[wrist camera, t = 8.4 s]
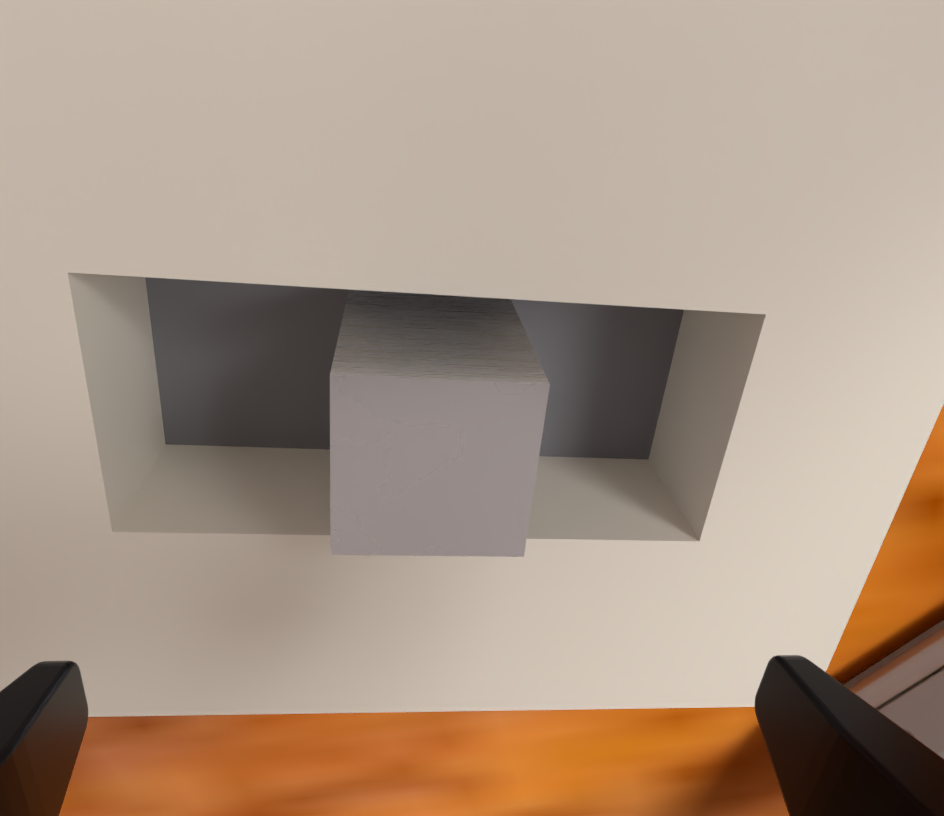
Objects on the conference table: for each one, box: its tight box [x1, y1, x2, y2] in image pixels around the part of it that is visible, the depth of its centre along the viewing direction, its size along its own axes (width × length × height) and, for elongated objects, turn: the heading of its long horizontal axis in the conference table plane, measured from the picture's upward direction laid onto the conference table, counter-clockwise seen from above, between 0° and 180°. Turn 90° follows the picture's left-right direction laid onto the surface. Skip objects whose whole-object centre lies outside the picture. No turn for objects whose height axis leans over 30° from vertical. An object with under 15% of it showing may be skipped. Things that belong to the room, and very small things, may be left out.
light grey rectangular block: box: [330, 289, 550, 557], centre depth 16 cm, size 4×4×6 cm
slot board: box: [0, 0, 944, 717], centre depth 17 cm, size 24×18×4 cm
